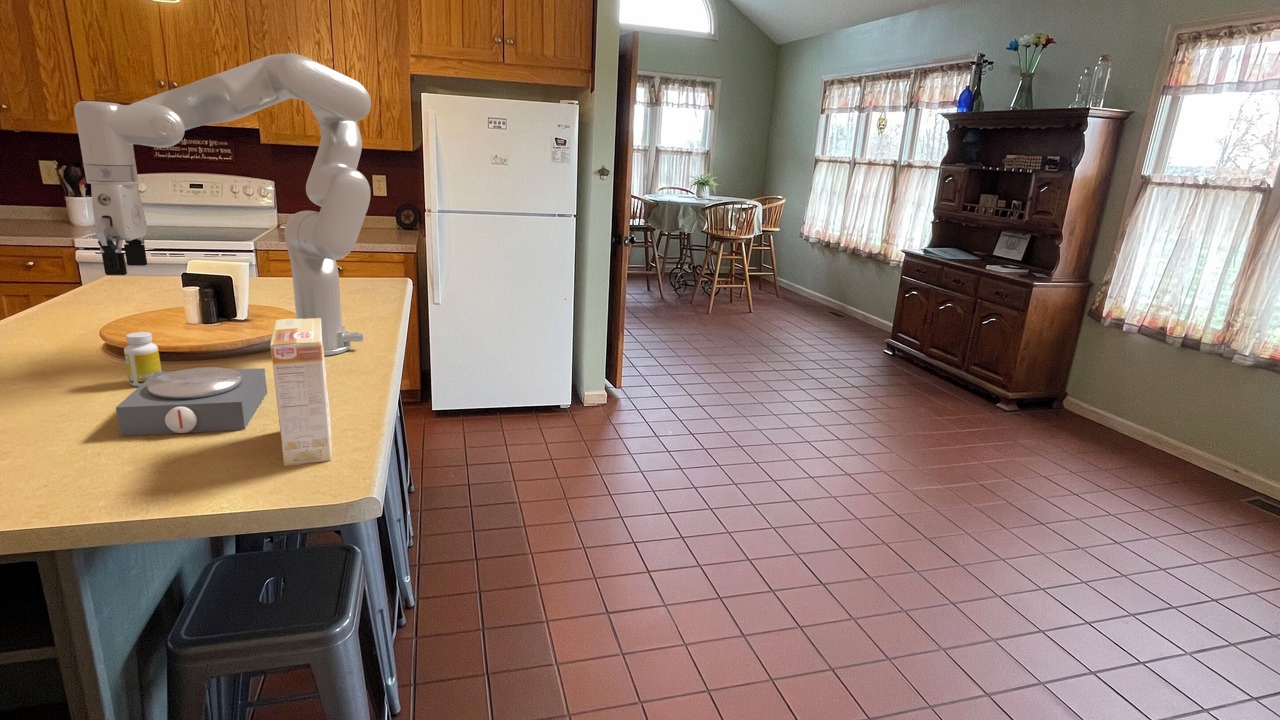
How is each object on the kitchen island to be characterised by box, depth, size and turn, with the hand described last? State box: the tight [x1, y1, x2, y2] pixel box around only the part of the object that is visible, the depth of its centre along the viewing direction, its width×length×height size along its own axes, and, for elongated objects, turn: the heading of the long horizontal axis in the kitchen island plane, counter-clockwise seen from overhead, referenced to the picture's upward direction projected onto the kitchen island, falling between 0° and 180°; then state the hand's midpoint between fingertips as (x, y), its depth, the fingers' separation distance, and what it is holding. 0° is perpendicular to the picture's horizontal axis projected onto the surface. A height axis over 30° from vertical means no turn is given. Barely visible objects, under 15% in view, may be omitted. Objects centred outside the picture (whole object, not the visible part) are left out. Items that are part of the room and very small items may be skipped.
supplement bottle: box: [123, 331, 163, 387], centre depth 135 cm, size 5×5×10 cm
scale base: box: [115, 368, 268, 437], centre depth 123 cm, size 18×19×5 cm
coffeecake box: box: [269, 318, 333, 467], centre depth 111 cm, size 15×7×20 cm, turn 23°
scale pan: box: [147, 366, 242, 399], centre depth 122 cm, size 14×14×1 cm
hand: (127, 269), depth 130 cm, fingers open, 9 cm apart
